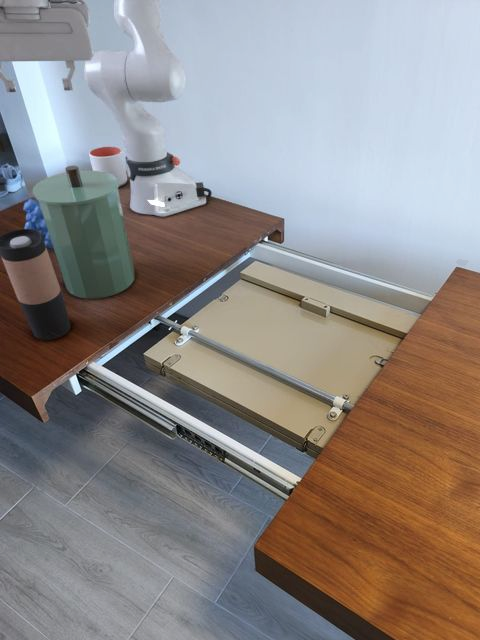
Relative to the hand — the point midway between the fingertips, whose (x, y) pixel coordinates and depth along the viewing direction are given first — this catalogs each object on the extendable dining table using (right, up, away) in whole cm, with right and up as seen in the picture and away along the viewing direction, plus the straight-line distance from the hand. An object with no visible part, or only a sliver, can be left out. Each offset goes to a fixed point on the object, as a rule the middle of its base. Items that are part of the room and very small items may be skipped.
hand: (40, 90), depth 84 cm
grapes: (-16, -20, +36) cm, 45 cm away
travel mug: (-3, -42, +11) cm, 44 cm away
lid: (+2, -14, +11) cm, 17 cm away
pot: (+2, -30, +25) cm, 39 cm away
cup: (-9, +8, +68) cm, 69 cm away
